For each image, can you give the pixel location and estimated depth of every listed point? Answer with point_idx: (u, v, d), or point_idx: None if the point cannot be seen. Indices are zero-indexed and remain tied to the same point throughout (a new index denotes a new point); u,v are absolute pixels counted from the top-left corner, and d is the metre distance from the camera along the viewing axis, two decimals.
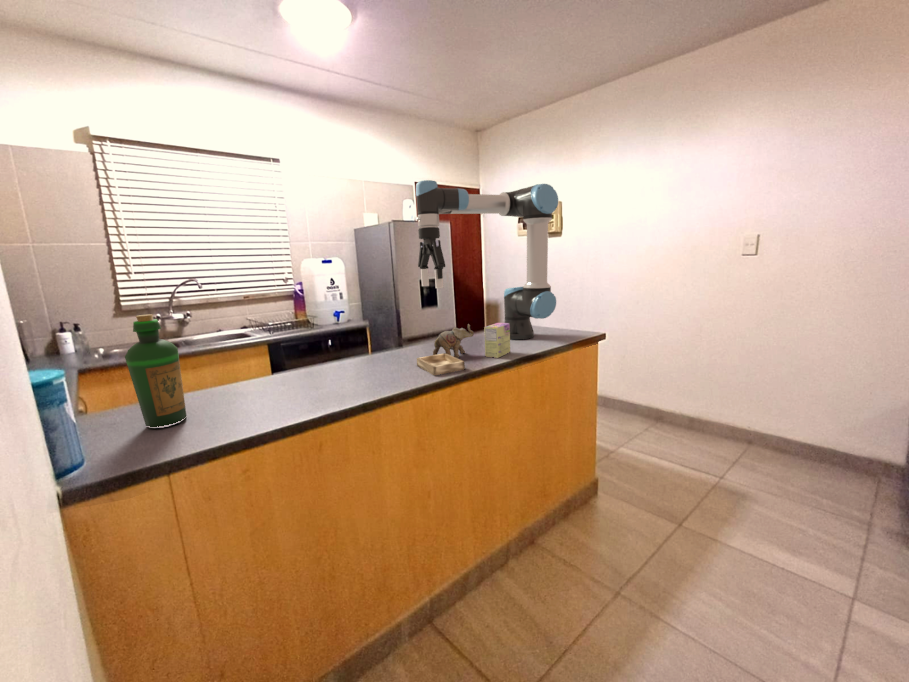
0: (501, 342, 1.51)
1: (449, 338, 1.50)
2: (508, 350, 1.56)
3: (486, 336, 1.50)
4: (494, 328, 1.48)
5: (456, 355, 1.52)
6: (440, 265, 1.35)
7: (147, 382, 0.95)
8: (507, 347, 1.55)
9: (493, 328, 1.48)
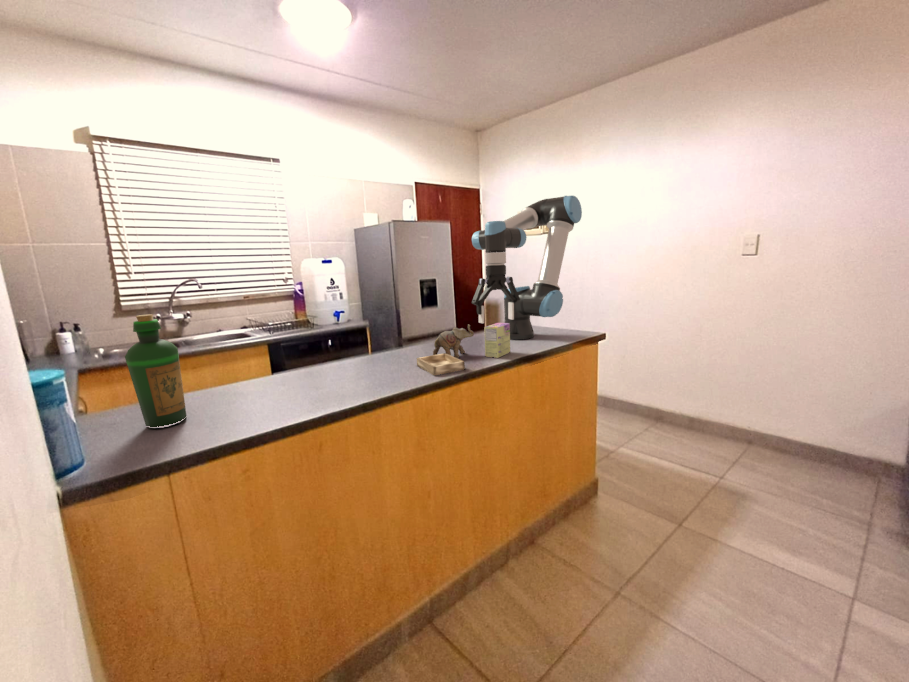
0: (501, 342, 1.51)
1: (449, 338, 1.50)
2: (508, 350, 1.56)
3: (486, 336, 1.50)
4: (494, 328, 1.48)
5: (456, 355, 1.52)
6: (472, 302, 1.46)
7: (147, 382, 0.95)
8: (507, 347, 1.55)
9: (493, 328, 1.48)
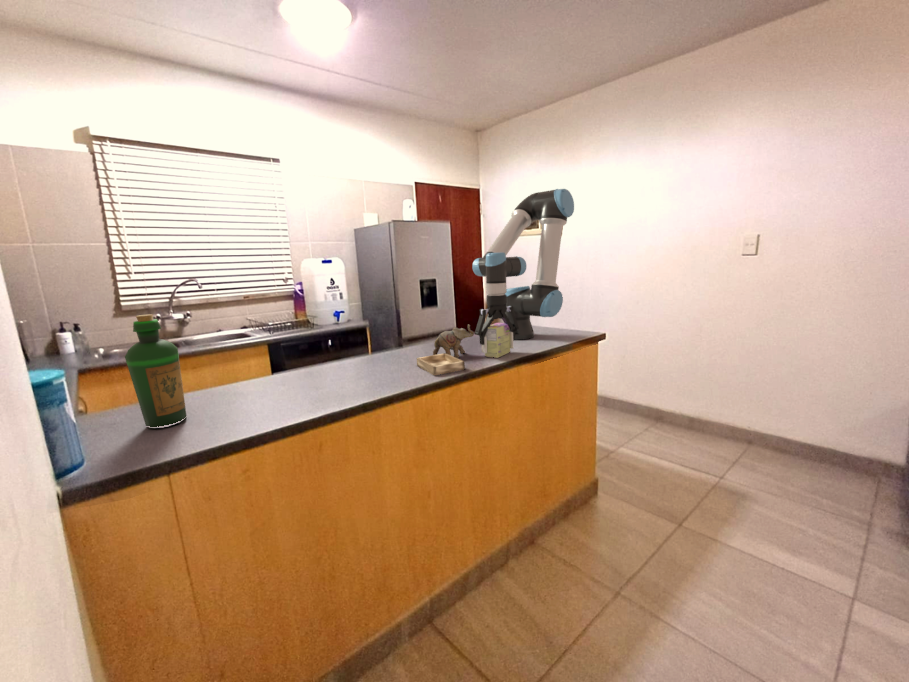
0: (501, 342, 1.51)
1: (449, 338, 1.50)
2: (508, 350, 1.56)
3: None
4: (494, 328, 1.48)
5: (456, 355, 1.52)
6: (475, 333, 1.49)
7: (147, 382, 0.95)
8: (507, 347, 1.55)
9: (493, 328, 1.48)
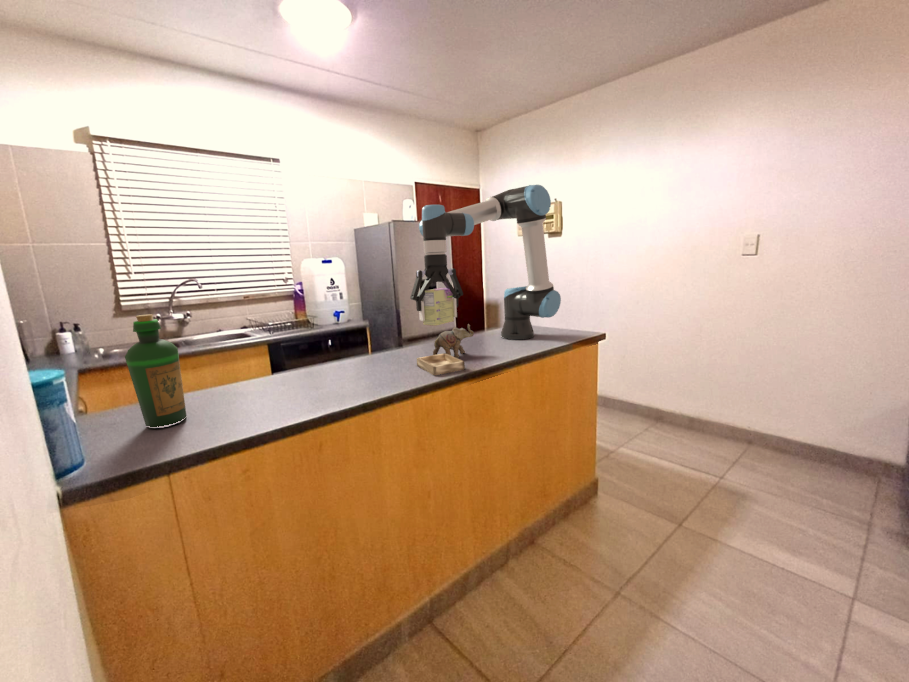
0: (441, 308, 1.33)
1: (449, 338, 1.50)
2: (451, 318, 1.38)
3: None
4: (431, 291, 1.30)
5: (456, 355, 1.52)
6: (411, 297, 1.31)
7: (147, 382, 0.95)
8: (449, 315, 1.37)
9: (430, 291, 1.30)
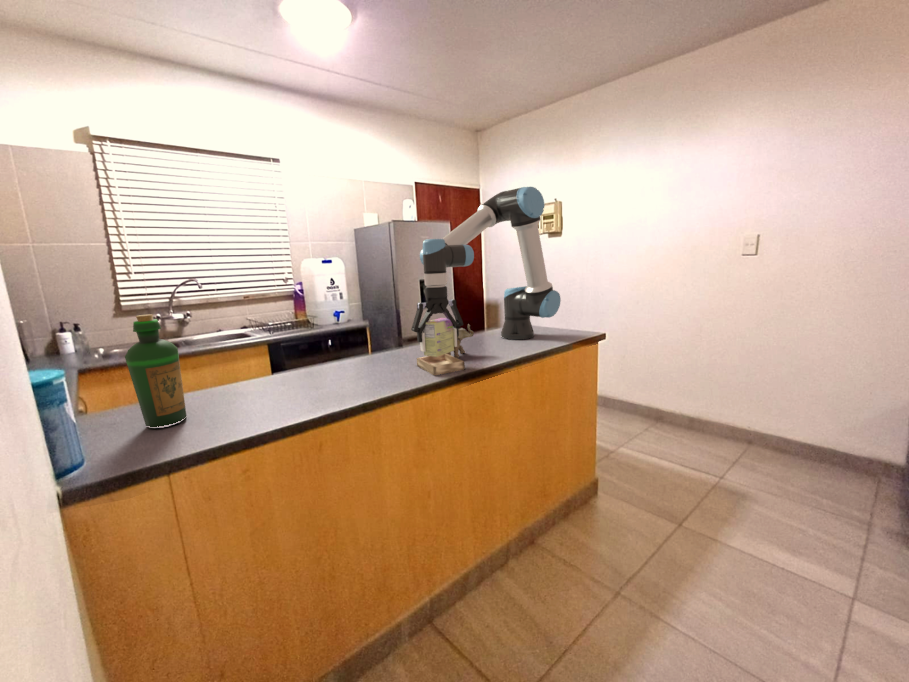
0: (441, 339, 1.35)
1: None
2: (451, 348, 1.40)
3: (424, 332, 1.34)
4: (432, 323, 1.32)
5: (456, 355, 1.52)
6: (412, 329, 1.33)
7: (147, 382, 0.95)
8: (449, 345, 1.39)
9: (431, 323, 1.32)
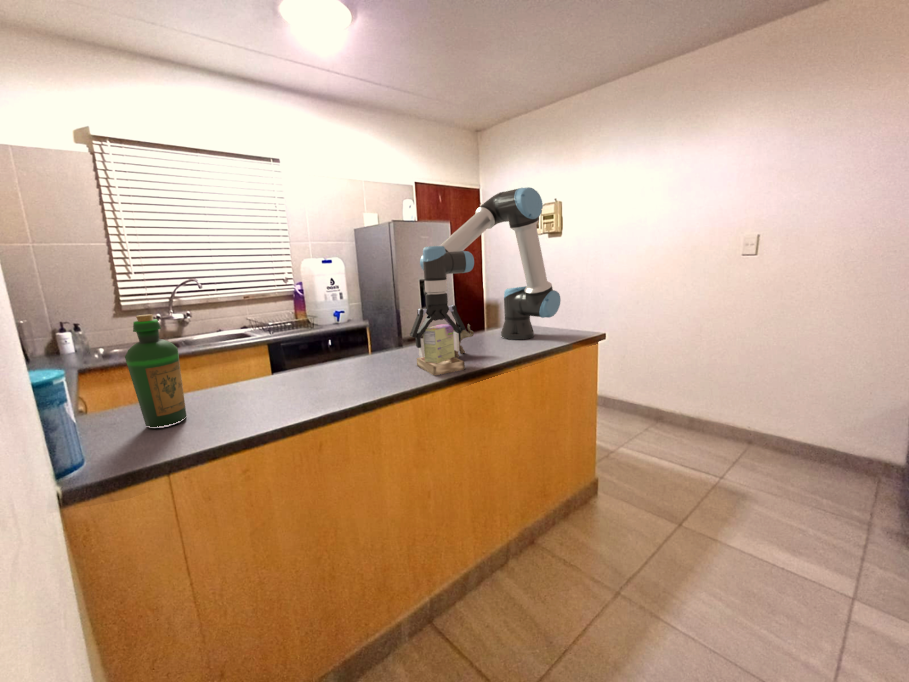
0: (442, 346, 1.36)
1: None
2: (452, 354, 1.41)
3: (425, 339, 1.35)
4: (432, 330, 1.32)
5: (456, 355, 1.52)
6: (410, 334, 1.34)
7: (146, 382, 0.94)
8: (450, 351, 1.40)
9: (431, 330, 1.33)
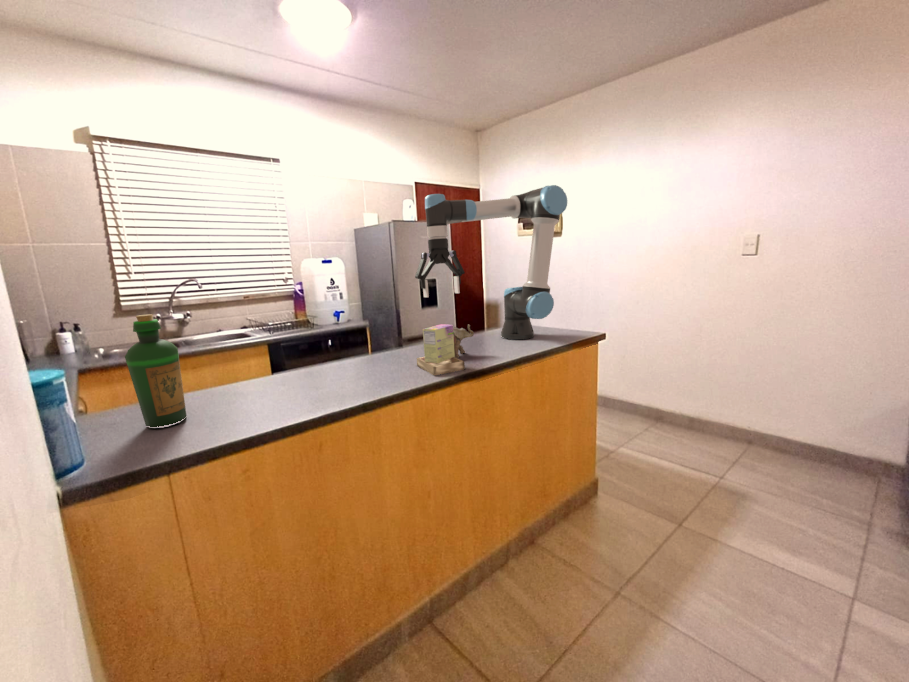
0: (442, 346, 1.36)
1: None
2: (452, 354, 1.41)
3: (425, 339, 1.35)
4: (432, 330, 1.32)
5: (456, 355, 1.52)
6: (415, 276, 1.47)
7: (146, 382, 0.95)
8: (450, 351, 1.40)
9: (431, 330, 1.33)
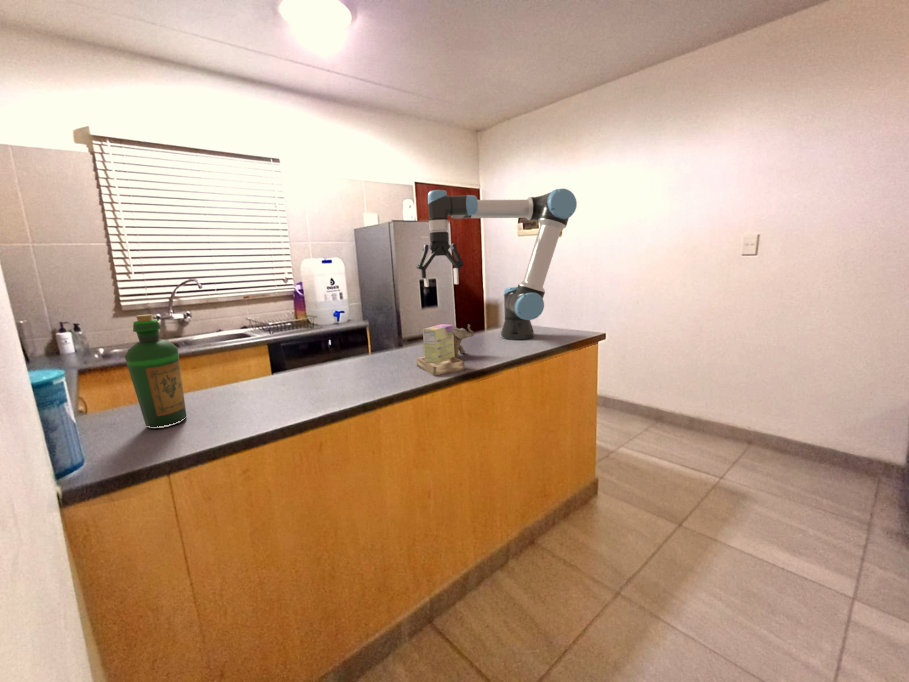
0: (442, 346, 1.36)
1: None
2: (452, 354, 1.41)
3: (425, 339, 1.35)
4: (432, 330, 1.32)
5: (456, 355, 1.52)
6: (417, 267, 1.57)
7: (146, 382, 0.95)
8: (450, 351, 1.40)
9: (431, 330, 1.33)
